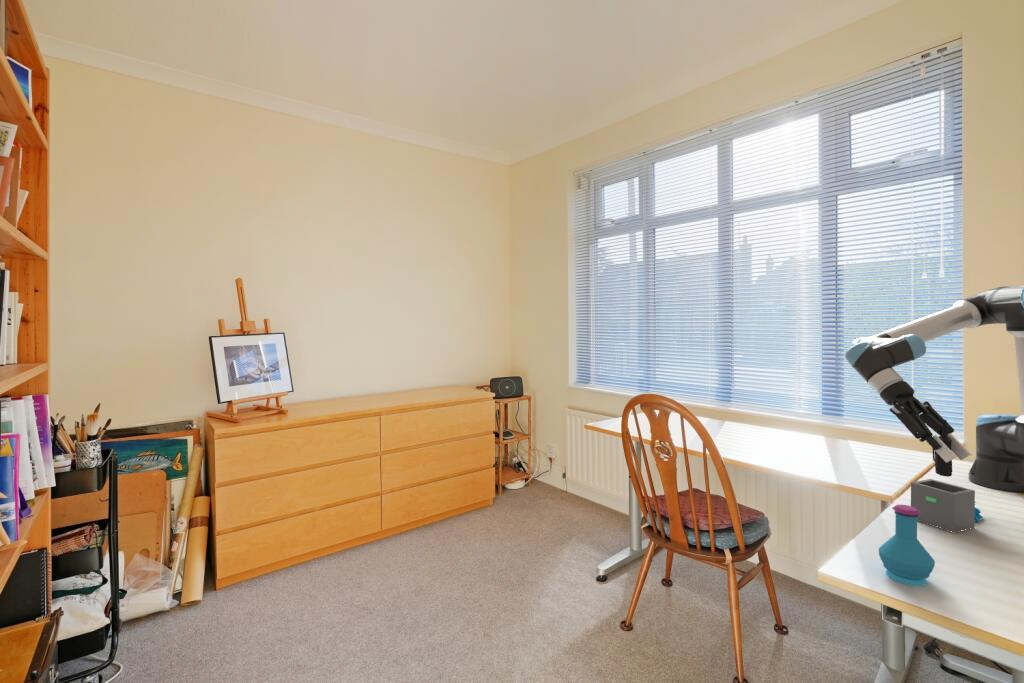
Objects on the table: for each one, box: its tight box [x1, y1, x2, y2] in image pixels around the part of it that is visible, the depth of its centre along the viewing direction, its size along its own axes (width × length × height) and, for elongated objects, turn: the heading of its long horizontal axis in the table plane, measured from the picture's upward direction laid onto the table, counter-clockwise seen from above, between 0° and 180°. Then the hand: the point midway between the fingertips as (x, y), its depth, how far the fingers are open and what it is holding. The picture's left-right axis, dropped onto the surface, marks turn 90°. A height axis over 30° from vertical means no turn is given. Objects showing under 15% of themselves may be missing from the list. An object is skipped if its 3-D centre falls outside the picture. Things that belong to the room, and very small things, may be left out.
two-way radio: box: [931, 419, 953, 477], centre depth 127 cm, size 6×4×15 cm
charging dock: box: [910, 478, 976, 533], centre depth 127 cm, size 8×10×10 cm
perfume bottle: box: [878, 504, 936, 587], centre depth 101 cm, size 9×9×15 cm
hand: (958, 458), depth 123 cm, fingers closed on two-way radio, 5 cm apart
